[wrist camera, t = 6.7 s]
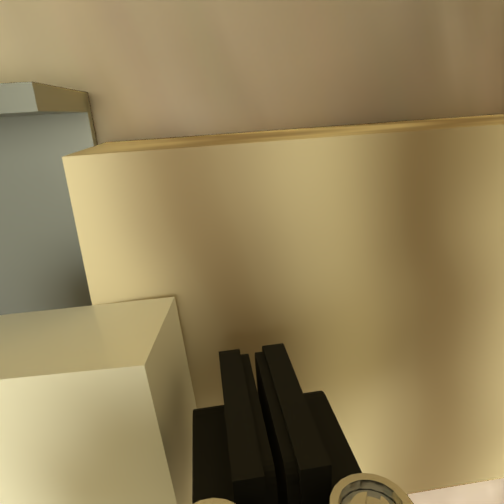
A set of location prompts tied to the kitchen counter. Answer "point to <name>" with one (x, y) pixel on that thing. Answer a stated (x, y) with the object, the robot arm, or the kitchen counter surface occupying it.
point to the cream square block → (95, 406)
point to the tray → (40, 197)
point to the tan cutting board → (325, 272)
